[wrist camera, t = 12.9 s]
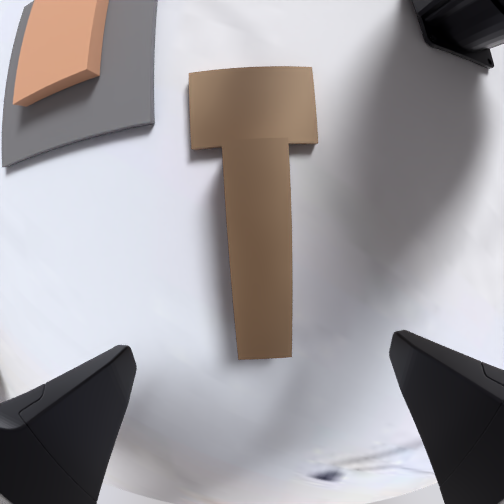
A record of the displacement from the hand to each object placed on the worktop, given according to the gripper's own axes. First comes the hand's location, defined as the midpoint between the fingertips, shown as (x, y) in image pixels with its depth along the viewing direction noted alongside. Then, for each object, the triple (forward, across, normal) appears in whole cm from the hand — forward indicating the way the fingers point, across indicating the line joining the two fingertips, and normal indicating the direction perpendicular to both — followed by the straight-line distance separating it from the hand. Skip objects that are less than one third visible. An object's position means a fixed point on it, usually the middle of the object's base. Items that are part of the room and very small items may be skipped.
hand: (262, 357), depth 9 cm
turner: (+7, 0, -4) cm, 8 cm away
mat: (+7, +11, -16) cm, 20 cm away
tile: (+5, +11, -12) cm, 17 cm away
